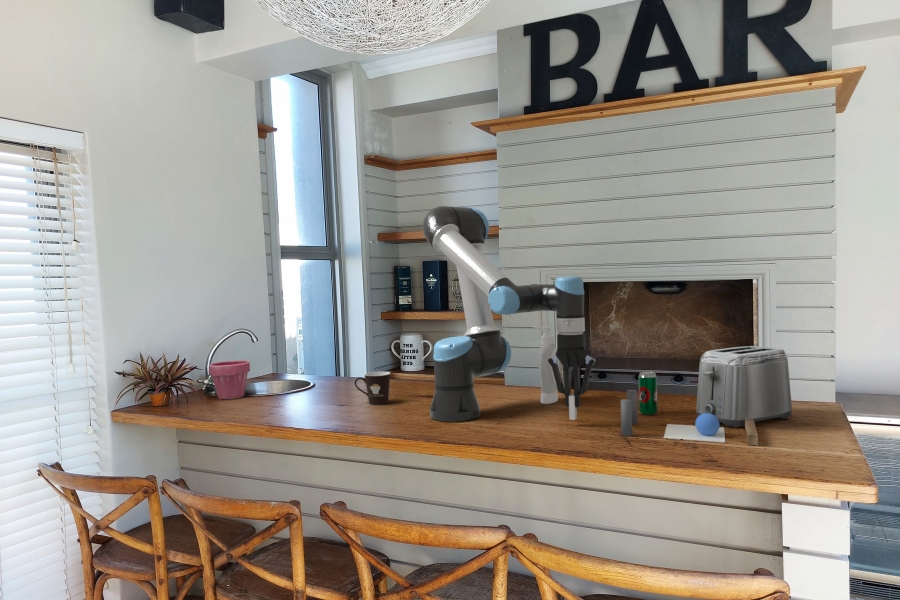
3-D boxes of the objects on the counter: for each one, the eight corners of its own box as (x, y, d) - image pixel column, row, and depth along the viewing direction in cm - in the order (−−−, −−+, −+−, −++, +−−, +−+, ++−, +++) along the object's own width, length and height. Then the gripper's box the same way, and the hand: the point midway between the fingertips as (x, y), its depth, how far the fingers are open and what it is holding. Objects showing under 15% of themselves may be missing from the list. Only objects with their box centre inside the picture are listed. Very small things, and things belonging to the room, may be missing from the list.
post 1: (620, 436, 157) (620, 401, 156) (622, 433, 159) (621, 399, 159) (631, 436, 156) (630, 401, 155) (632, 434, 158) (631, 399, 158)
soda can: (658, 415, 177) (657, 374, 176) (640, 415, 178) (639, 374, 177) (656, 411, 182) (655, 371, 181) (638, 411, 183) (637, 371, 182)
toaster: (683, 418, 173) (682, 351, 172) (760, 406, 184) (759, 342, 183) (732, 432, 157) (731, 358, 156) (812, 417, 169) (811, 348, 168)
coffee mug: (396, 401, 209) (395, 372, 209) (380, 406, 202) (379, 376, 201) (370, 398, 215) (368, 370, 215) (353, 403, 208) (352, 374, 208)
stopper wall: (748, 445, 145) (748, 434, 145) (745, 428, 160) (744, 418, 160) (757, 446, 144) (757, 435, 144) (753, 429, 159) (753, 419, 159)
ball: (691, 431, 154) (701, 412, 152) (691, 425, 159) (701, 406, 157) (713, 442, 152) (723, 423, 150) (713, 436, 157) (723, 417, 156)
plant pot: (228, 392, 237) (227, 359, 237) (259, 393, 233) (257, 360, 232) (202, 400, 224) (200, 365, 223) (234, 401, 219) (232, 366, 219)
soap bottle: (541, 396, 209) (539, 324, 208) (563, 397, 205) (561, 325, 204) (527, 404, 198) (525, 328, 197) (550, 405, 194) (548, 328, 193)
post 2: (627, 424, 168) (626, 391, 168) (628, 421, 171) (627, 389, 170) (636, 424, 167) (636, 391, 167) (638, 422, 170) (637, 390, 169)
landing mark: (663, 438, 153) (663, 437, 153) (667, 424, 166) (667, 424, 166) (725, 442, 148) (725, 441, 148) (724, 428, 161) (724, 427, 161)
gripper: (544, 334, 167) (546, 420, 168) (592, 334, 162) (594, 423, 163) (550, 331, 174) (553, 414, 175) (597, 331, 169) (599, 416, 170)
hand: (573, 418), depth 169 cm, fingers closed
